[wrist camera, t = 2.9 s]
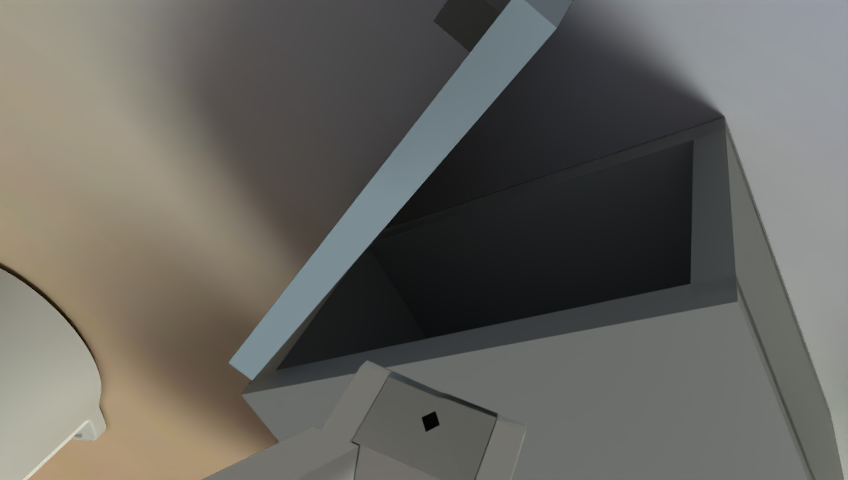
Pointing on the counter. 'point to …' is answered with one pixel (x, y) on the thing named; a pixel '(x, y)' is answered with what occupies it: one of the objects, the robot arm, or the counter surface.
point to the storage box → (585, 323)
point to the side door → (413, 153)
